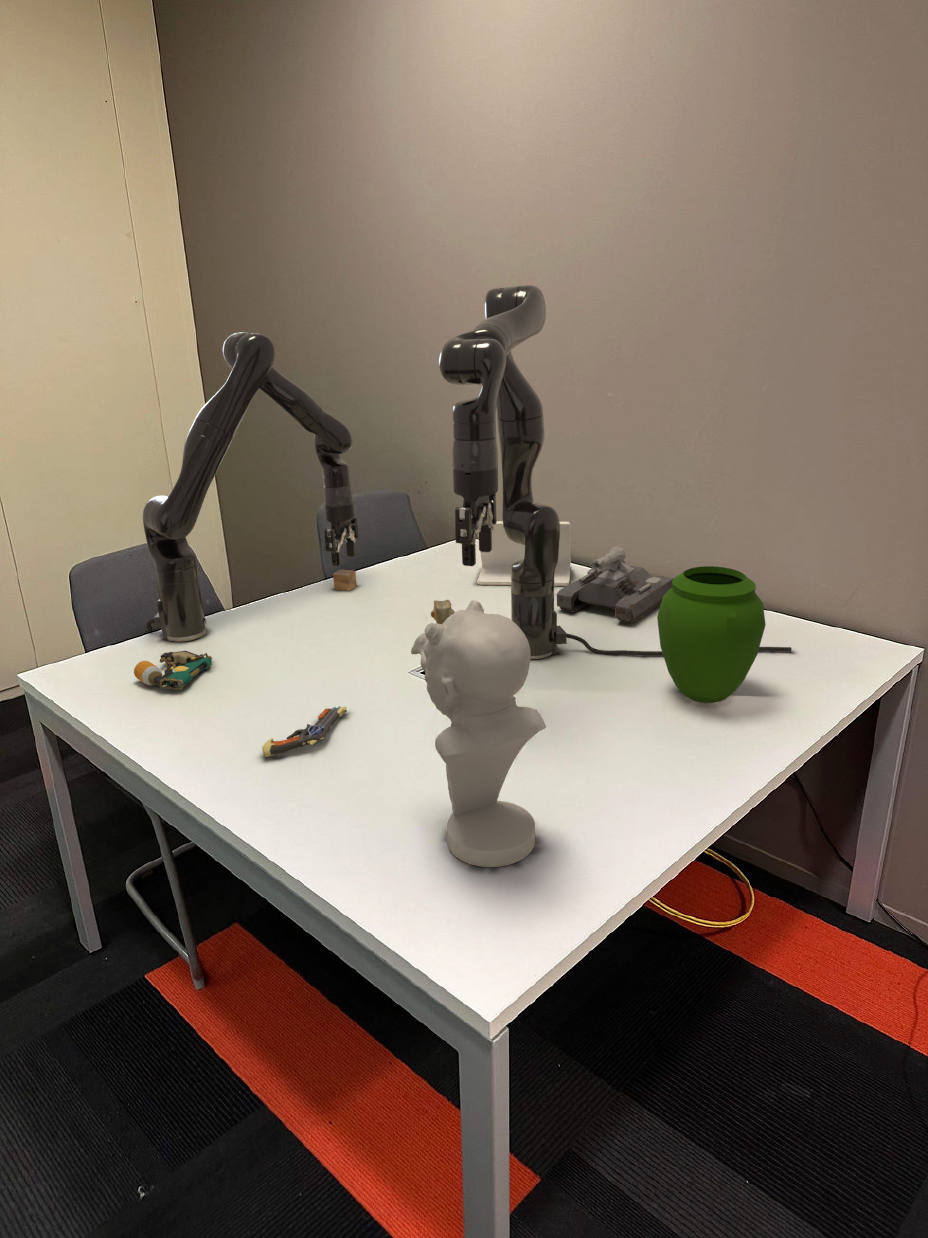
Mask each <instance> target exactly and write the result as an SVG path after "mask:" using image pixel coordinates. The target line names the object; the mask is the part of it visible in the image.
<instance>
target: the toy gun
mask: <svg viewBox="0 0 928 1238" xmlns="http://www.w3.org/2000/svg"><path fill="white" fill-rule="evenodd" d="M347 708H348V707H347V706H340V705H339V706H337V707H336V706H333V707H332V708H325V709H324V710H323V711H322V712H321V713H320V714H319V715H318V716H317V721H316V722H315V723H314V724H309V723H307V724H306V727H305V728H302V729H295V730H294V732H293V733H291V734H290V735H288V736H287V737H286V739H283V740H274V739H273V738H269V740H266V742H264V743H263V745H262V747H261V748H262V749H261V750H262V754H263V756H264V757H267V758H268V757H272V756H275V755H276V756H277V755H280V754H283V753H287V752H290V751H293V750H298V749H300V748H303V747H306V746H309V745H310V746H313V745H314V744H316V743H318V742H319V741H321V740H324V738H325V737H327V735H328V733H329V732H330V731H331V729H332V727H333V725H334V724H335V723H336V722H337V721H338V720H339V718H341V717H342V715H344V714H347V712H348V709H347Z"/></svg>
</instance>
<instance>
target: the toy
mask: <svg viewBox="0 0 928 1238" xmlns="http://www.w3.org/2000/svg"><path fill="white" fill-rule="evenodd" d="M626 557H627V556H626V551H625V549H624V548H622V547H621V546H614V547H612V548H611V549H610V550H609V552H608V553H607V554H605V555H604V556H601V557H599V558H598V559H597V557H596V558H594V559H593V560H592V561H590V562H589V563H590V564H591V565H592V567H591V568H590V569H589V570H587V573H586V575H584V576H582V577H580V578H578V579H577V580H575V581H573V582H570V583H569V585H567V586H563V587H562V588H560V589H559V590H558V591H557V592H556V607H558V608H559V609H560V610H562V611H566V612H572V613H575V612H577V611H579V610H581V609H582V608H585V607H586V606H588V605H592V606H598V607H602V608H603V607H604V608H609V609H613V610H614V618H615V619H617V620H618V621H621V622H626V623H631V624H634V623H635V622H637V621H638V620H640V619H641V618H642V617H644V616H645V615H647V614H648V613H650V612H651V611H652V610H654V609H655V608H657V607H659V606H660V605H661V602H662V598H663V596H664V595H665V593H666V592H667V591H669V590H670V589H671V588H672V580H673V579H674V578H675V577H668V576H663V575H656V576H655V577H654V576H651V574H650V573H649V572H648V571H647V570H646V568H644V567H641V566H635V565H629V564H628V563H627V562H626V561H625V559H626Z"/></svg>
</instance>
